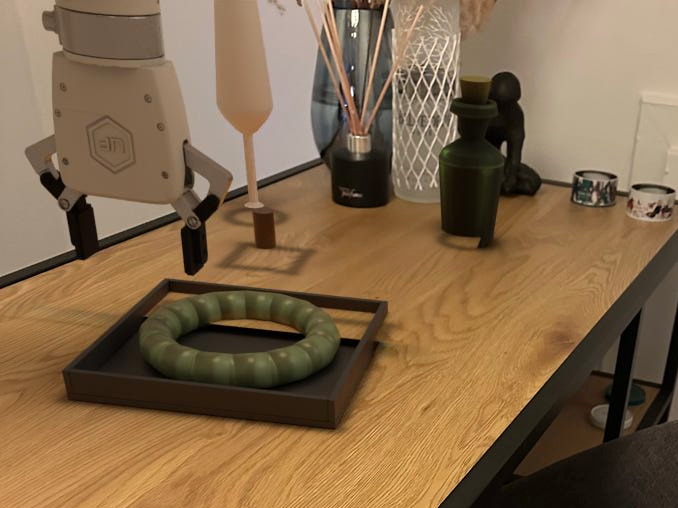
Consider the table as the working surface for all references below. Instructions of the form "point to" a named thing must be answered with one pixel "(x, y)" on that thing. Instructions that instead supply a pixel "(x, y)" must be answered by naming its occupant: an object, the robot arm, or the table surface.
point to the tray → (256, 404)
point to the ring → (238, 368)
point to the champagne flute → (242, 76)
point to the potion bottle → (471, 166)
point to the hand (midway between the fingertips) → (141, 263)
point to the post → (264, 228)
